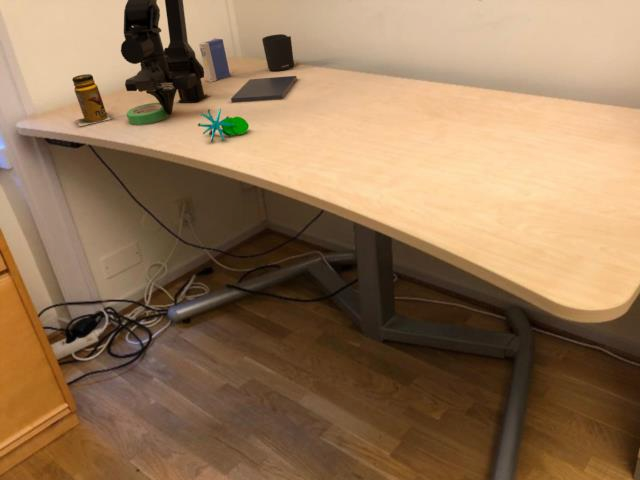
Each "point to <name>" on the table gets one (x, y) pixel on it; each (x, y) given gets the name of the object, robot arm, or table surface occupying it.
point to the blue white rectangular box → (214, 59)
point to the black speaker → (278, 52)
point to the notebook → (264, 89)
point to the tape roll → (146, 114)
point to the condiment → (89, 100)
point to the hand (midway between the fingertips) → (169, 114)
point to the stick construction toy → (225, 125)
